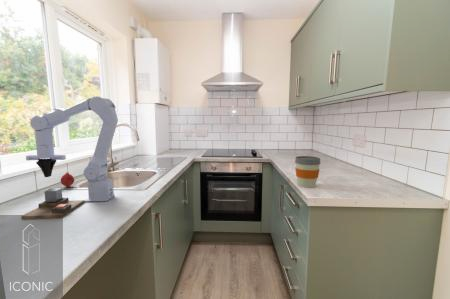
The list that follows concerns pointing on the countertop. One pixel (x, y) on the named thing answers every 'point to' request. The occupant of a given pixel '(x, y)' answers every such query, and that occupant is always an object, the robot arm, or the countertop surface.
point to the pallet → (53, 209)
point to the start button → (61, 206)
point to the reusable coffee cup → (307, 171)
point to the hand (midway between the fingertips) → (48, 176)
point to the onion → (67, 180)
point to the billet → (53, 195)
